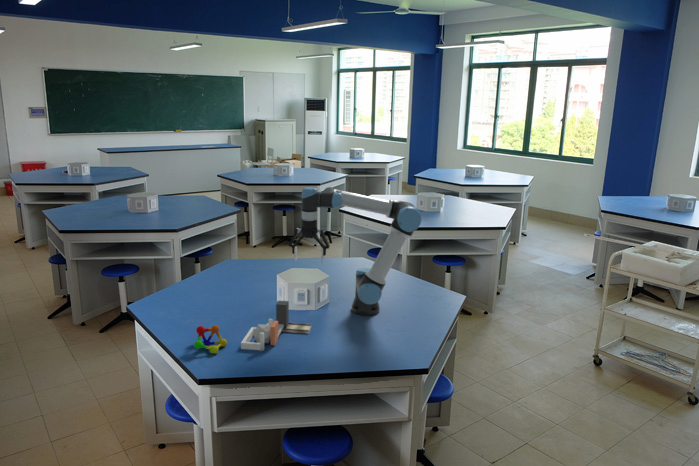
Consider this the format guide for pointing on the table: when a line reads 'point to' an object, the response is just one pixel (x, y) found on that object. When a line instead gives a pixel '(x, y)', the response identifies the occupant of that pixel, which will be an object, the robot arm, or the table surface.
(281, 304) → the rod
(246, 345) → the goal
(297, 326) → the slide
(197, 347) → the molecular model
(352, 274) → the table surface
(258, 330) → the die
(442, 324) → the table surface
